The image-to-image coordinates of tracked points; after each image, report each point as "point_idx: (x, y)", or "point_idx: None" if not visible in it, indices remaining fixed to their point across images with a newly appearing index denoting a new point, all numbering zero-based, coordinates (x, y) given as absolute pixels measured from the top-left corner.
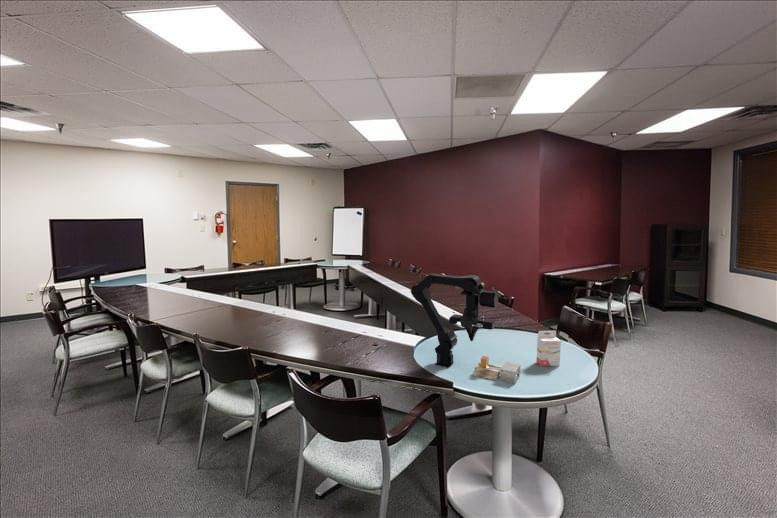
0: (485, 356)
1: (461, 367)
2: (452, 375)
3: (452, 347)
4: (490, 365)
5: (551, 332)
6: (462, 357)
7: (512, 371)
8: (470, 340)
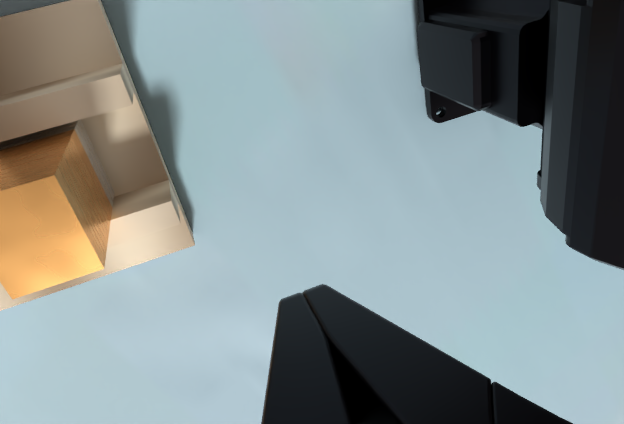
0: (58, 277)
1: (321, 88)
2: None
3: (552, 51)
4: None
5: None
6: (417, 259)
7: None
8: (327, 290)
